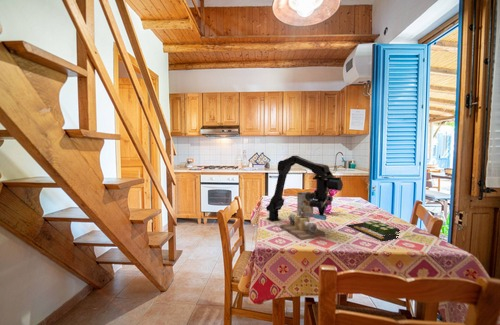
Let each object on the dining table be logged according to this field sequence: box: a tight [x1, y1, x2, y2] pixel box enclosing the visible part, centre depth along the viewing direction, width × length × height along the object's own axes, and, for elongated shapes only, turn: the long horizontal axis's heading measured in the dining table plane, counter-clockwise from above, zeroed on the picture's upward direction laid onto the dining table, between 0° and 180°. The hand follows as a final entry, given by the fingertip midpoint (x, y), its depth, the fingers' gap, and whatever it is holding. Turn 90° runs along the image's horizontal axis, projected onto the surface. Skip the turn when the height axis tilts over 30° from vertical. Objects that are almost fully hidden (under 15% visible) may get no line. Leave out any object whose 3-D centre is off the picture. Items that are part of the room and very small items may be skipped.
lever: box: [299, 211, 327, 221], centre depth 125 cm, size 15×3×2 cm, turn 54°
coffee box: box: [296, 191, 314, 218], centre depth 156 cm, size 9×6×16 cm
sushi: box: [345, 220, 400, 242], centre depth 131 cm, size 25×25×4 cm
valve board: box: [279, 213, 326, 241], centre depth 128 cm, size 20×16×9 cm
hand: (321, 216), depth 124 cm, fingers closed
